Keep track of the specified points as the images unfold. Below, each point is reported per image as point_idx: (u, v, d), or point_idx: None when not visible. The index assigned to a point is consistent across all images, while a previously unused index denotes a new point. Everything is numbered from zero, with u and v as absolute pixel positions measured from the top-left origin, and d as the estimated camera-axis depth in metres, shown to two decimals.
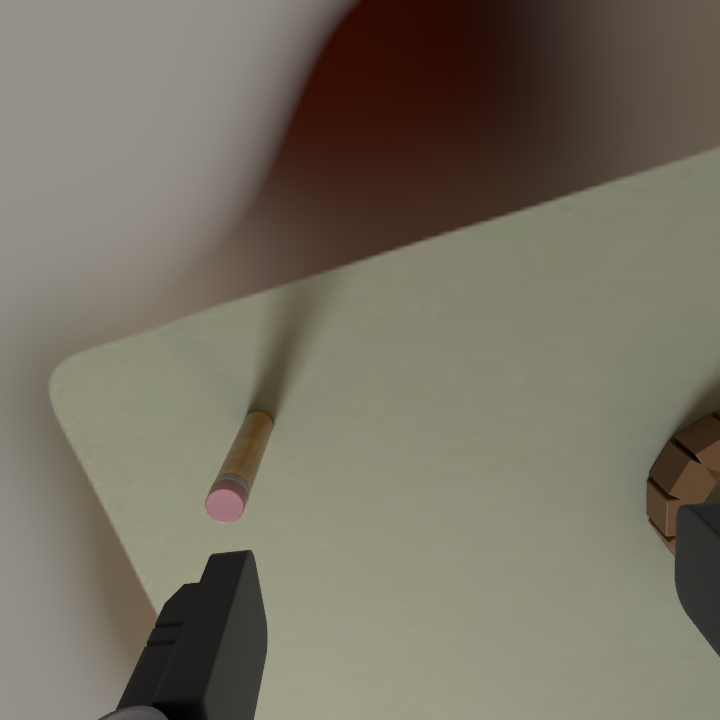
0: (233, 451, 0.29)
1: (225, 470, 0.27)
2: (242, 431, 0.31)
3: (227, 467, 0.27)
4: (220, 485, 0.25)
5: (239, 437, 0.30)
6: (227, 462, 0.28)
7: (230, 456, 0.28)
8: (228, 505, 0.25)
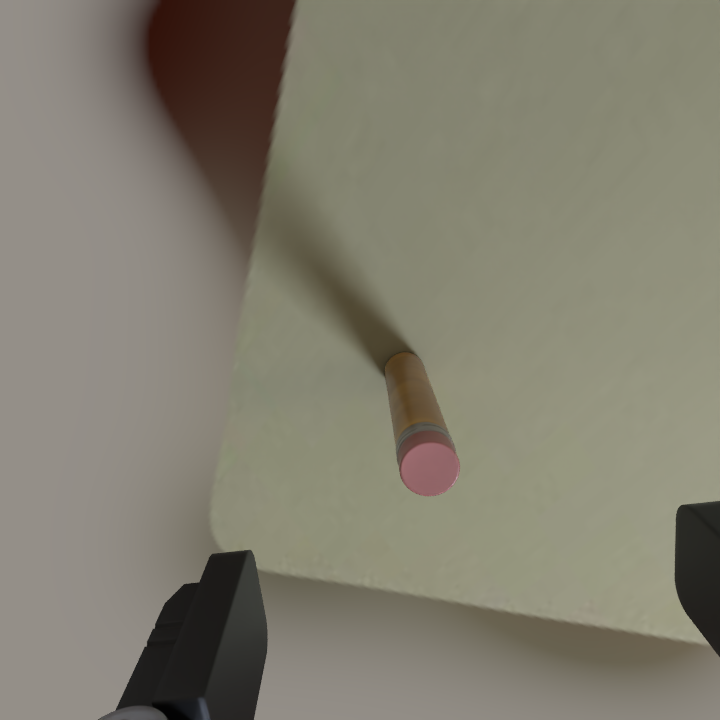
0: (392, 415, 0.20)
1: (396, 438, 0.18)
2: (388, 391, 0.22)
3: (395, 434, 0.18)
4: (399, 456, 0.17)
5: (389, 398, 0.22)
6: (393, 429, 0.19)
7: (392, 422, 0.20)
8: (432, 464, 0.16)
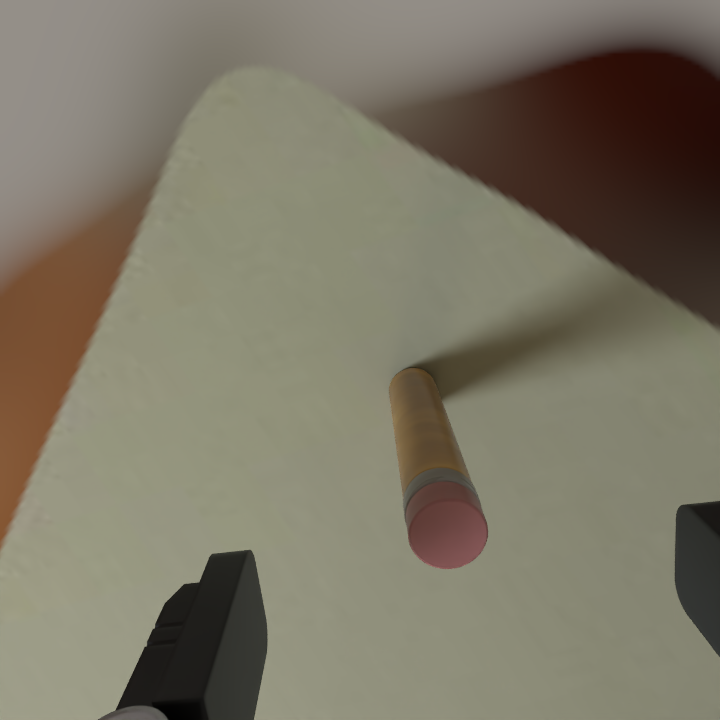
0: (441, 428, 0.16)
1: (454, 463, 0.14)
2: (430, 396, 0.18)
3: (454, 459, 0.14)
4: (469, 496, 0.12)
5: (433, 404, 0.17)
6: (446, 445, 0.15)
7: (442, 435, 0.15)
8: (455, 539, 0.12)
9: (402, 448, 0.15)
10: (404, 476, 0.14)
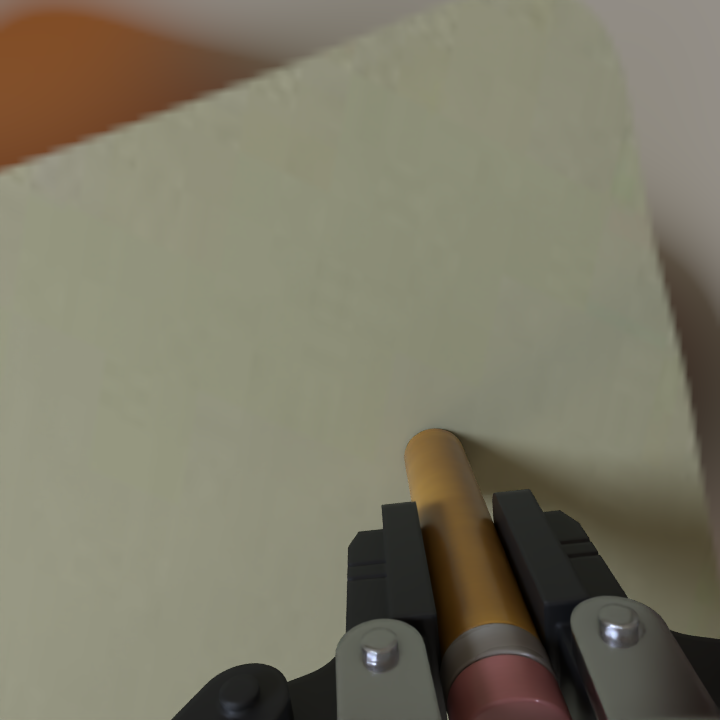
0: (506, 556, 0.12)
1: None
2: None
3: (534, 626, 0.10)
4: (569, 714, 0.08)
5: (487, 509, 0.13)
6: (521, 594, 0.10)
7: (512, 571, 0.11)
8: None
9: (457, 549, 0.11)
10: (465, 600, 0.10)
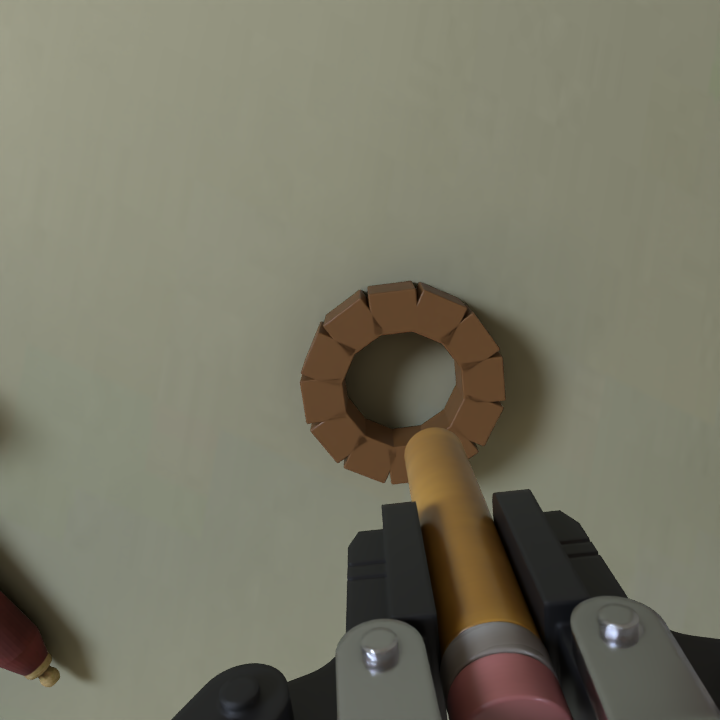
0: None
1: None
2: None
3: (534, 624, 0.10)
4: (570, 713, 0.08)
5: (487, 507, 0.13)
6: (522, 593, 0.10)
7: (512, 570, 0.11)
8: None
9: (457, 548, 0.11)
10: (465, 599, 0.10)
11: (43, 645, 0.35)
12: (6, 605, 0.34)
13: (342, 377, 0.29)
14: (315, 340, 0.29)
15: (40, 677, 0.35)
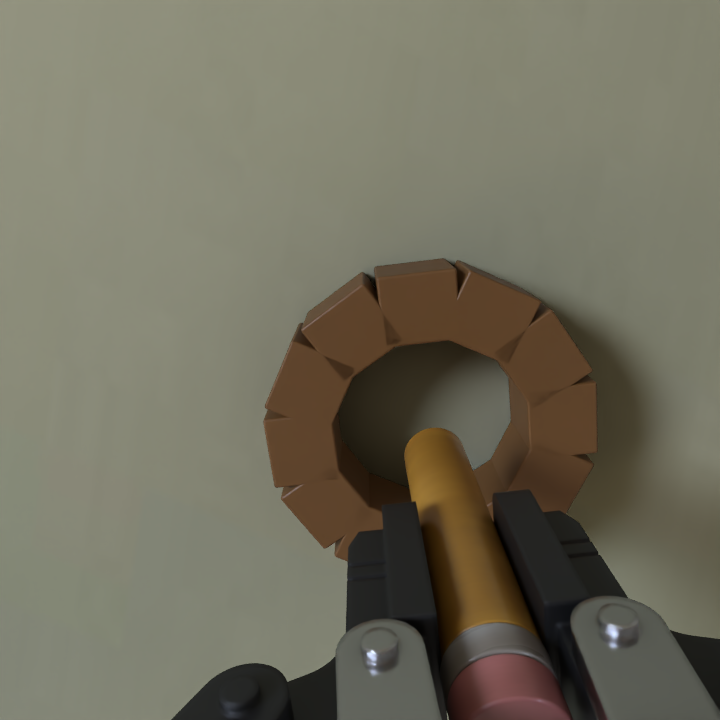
0: None
1: None
2: (481, 492, 0.14)
3: None
4: (570, 714, 0.08)
5: (487, 508, 0.13)
6: (522, 594, 0.10)
7: (513, 571, 0.11)
8: None
9: (457, 548, 0.11)
10: (465, 600, 0.10)
11: None
12: None
13: (332, 414, 0.18)
14: (288, 353, 0.17)
15: None
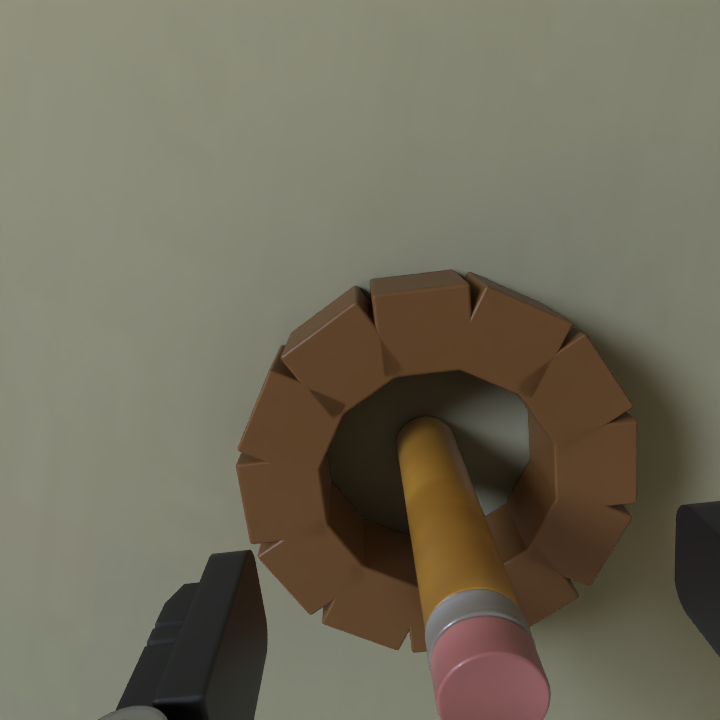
0: None
1: None
2: (468, 475, 0.15)
3: (514, 594, 0.10)
4: (544, 671, 0.09)
5: (474, 490, 0.14)
6: (503, 566, 0.11)
7: (495, 546, 0.12)
8: (495, 711, 0.09)
9: (443, 525, 0.12)
10: (449, 570, 0.10)
11: None
12: None
13: (319, 458, 0.15)
14: (265, 386, 0.14)
15: None
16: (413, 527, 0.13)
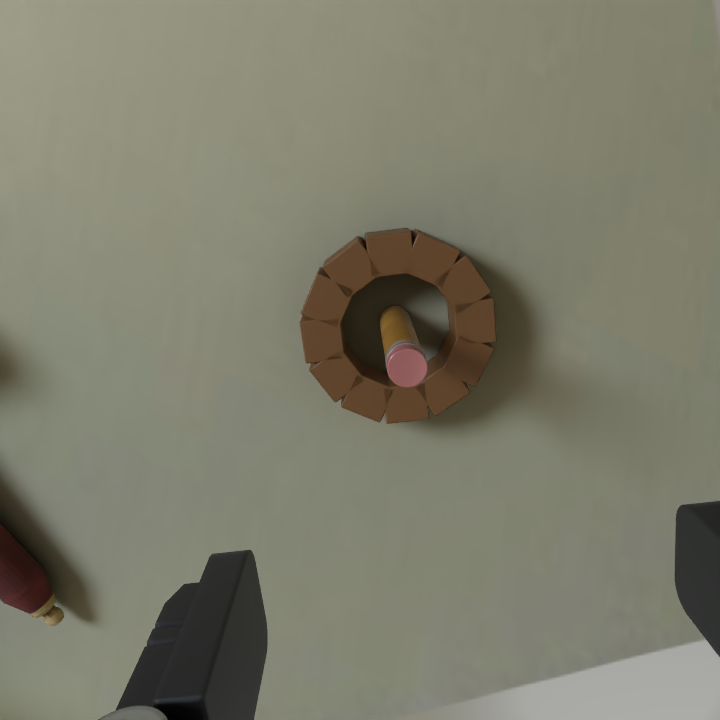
0: None
1: None
2: (412, 325, 0.30)
3: None
4: (426, 361, 0.25)
5: None
6: (419, 343, 0.27)
7: None
8: (408, 372, 0.24)
9: (395, 330, 0.27)
10: (395, 338, 0.26)
11: (48, 585, 0.36)
12: (13, 544, 0.35)
13: (340, 317, 0.30)
14: (315, 281, 0.30)
15: (45, 616, 0.36)
16: (383, 337, 0.28)
